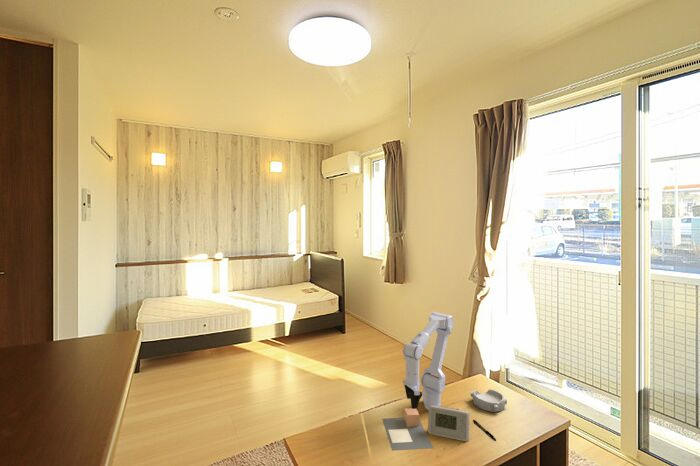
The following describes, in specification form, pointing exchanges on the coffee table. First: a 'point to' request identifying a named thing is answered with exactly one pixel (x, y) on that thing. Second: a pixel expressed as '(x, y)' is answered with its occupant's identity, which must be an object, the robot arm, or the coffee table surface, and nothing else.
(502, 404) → the dish
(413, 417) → the block
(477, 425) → the pen
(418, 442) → the mat
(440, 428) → the digital clock
